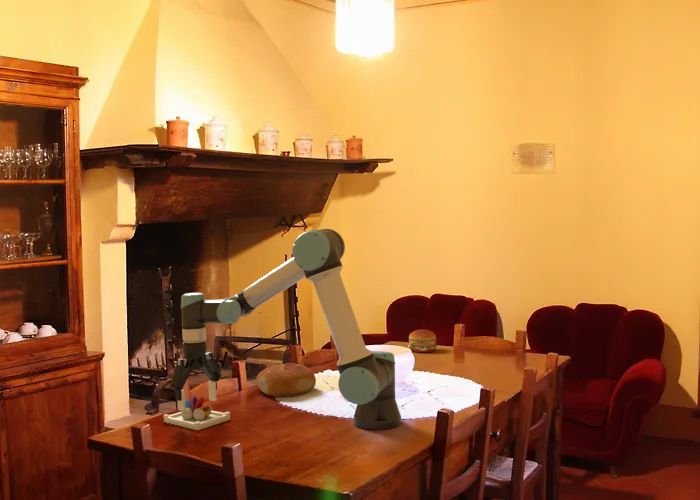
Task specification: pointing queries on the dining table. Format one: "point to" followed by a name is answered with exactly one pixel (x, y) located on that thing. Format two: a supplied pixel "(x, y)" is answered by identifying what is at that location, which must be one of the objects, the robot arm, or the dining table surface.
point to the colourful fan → (196, 409)
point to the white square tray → (195, 424)
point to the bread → (286, 380)
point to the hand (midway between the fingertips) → (197, 405)
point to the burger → (422, 341)
